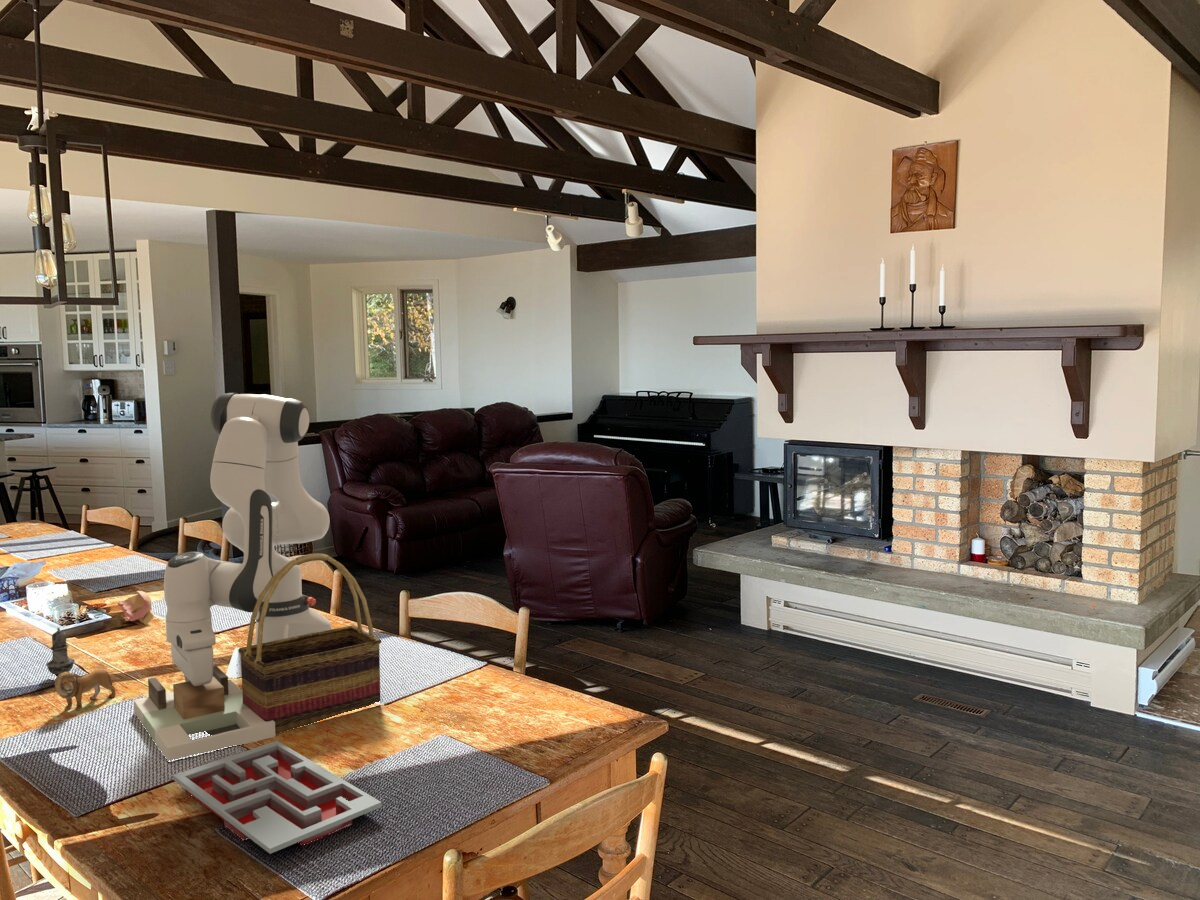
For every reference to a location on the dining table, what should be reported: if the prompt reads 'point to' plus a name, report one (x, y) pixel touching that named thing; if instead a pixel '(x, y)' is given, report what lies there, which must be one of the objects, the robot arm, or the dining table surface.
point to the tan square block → (198, 698)
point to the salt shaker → (59, 654)
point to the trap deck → (202, 725)
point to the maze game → (276, 796)
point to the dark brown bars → (159, 692)
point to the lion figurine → (82, 686)
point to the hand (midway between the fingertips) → (192, 693)
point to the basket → (310, 665)
